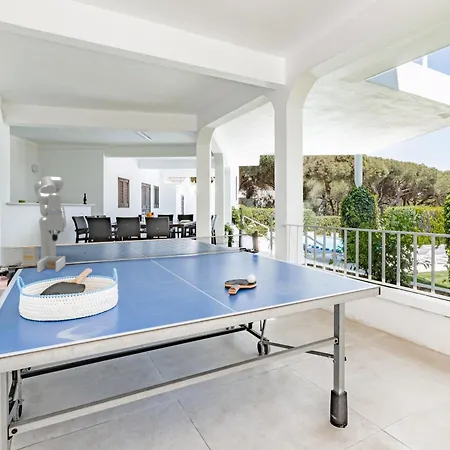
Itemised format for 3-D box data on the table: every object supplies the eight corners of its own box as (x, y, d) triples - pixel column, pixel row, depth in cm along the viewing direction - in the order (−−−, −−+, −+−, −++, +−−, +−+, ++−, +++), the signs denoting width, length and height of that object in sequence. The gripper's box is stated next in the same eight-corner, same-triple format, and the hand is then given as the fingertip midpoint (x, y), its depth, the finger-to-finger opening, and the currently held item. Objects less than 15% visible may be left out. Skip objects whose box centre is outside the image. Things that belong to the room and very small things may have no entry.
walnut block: (49, 267, 219) (49, 260, 218) (57, 267, 220) (57, 259, 220) (47, 269, 214) (47, 261, 214) (56, 269, 215) (55, 261, 215)
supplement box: (39, 265, 225) (38, 245, 224) (34, 267, 220) (34, 246, 219) (27, 265, 226) (27, 245, 225) (22, 266, 221) (21, 246, 220)
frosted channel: (47, 265, 226) (47, 256, 226) (65, 265, 229) (65, 256, 229) (37, 272, 203) (37, 262, 203) (57, 271, 206) (57, 262, 206)
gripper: (68, 212, 228) (68, 240, 229) (43, 212, 224) (43, 240, 225) (66, 212, 221) (66, 241, 221) (40, 212, 217) (40, 241, 218)
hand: (54, 240), depth 223 cm, fingers closed
